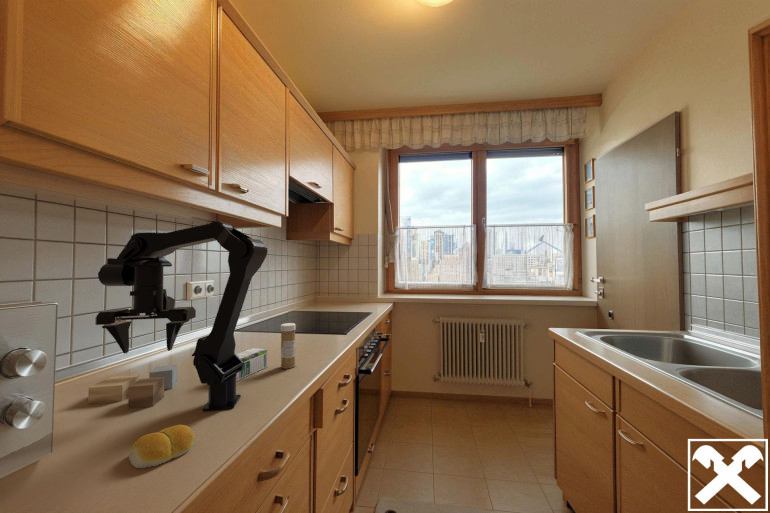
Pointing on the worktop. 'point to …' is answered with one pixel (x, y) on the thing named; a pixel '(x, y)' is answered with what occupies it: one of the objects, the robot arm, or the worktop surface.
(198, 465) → the worktop surface
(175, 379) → the slate-grey cube
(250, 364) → the syrup box
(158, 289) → the robot arm
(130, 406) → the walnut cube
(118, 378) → the oak base block
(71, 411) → the worktop surface
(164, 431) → the bread roll
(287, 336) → the sprinkles bottle
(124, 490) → the worktop surface
